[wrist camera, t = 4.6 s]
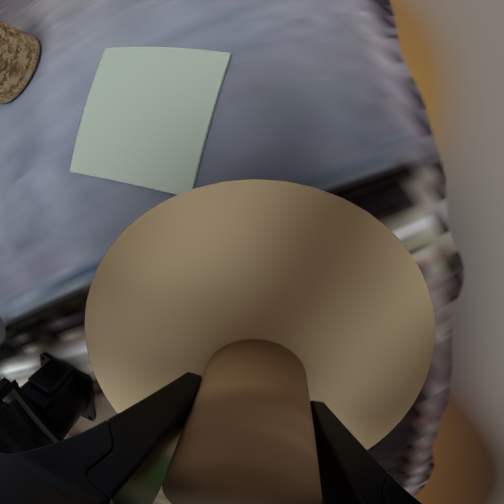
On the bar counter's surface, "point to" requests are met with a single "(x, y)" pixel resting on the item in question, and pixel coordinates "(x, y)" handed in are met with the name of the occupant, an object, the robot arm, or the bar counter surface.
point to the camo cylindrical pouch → (16, 61)
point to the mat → (149, 116)
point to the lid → (260, 331)
